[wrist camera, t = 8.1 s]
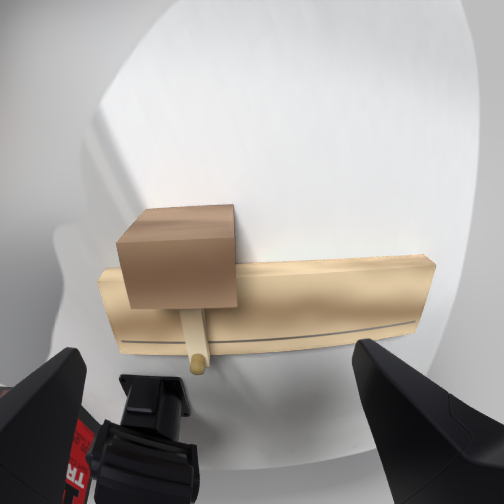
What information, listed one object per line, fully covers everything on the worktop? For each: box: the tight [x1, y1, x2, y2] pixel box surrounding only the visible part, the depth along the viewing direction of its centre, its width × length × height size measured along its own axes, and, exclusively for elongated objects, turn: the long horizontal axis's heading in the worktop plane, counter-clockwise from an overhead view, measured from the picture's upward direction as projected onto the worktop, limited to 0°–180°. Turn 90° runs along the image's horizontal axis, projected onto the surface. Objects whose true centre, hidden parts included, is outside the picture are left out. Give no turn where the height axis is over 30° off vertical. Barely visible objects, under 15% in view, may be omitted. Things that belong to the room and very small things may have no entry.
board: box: [97, 254, 436, 355], centre depth 22 cm, size 7×26×2 cm, turn 91°
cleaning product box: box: [0, 387, 100, 504], centre depth 20 cm, size 16×9×20 cm, turn 104°
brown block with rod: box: [116, 204, 237, 375], centre depth 19 cm, size 11×6×6 cm, turn 1°
